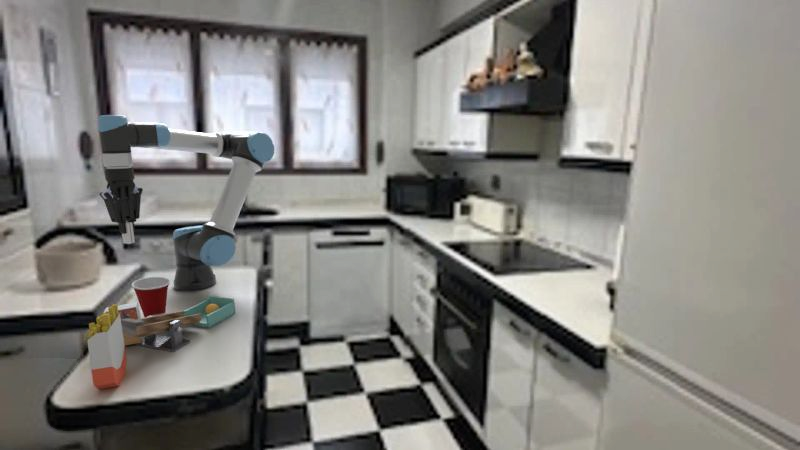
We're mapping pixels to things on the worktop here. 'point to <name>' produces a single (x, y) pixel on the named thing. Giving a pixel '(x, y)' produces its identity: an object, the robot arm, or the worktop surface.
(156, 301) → the plastic cup
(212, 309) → the ball
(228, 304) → the tray
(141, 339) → the small box
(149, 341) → the stand
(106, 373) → the french fries container
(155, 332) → the lever
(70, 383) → the worktop surface
